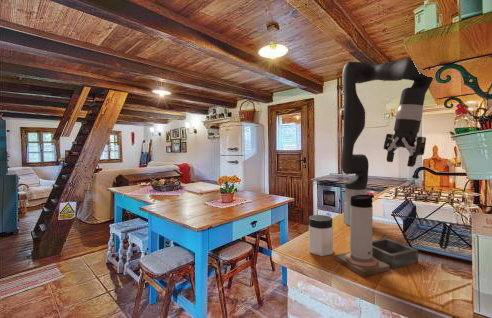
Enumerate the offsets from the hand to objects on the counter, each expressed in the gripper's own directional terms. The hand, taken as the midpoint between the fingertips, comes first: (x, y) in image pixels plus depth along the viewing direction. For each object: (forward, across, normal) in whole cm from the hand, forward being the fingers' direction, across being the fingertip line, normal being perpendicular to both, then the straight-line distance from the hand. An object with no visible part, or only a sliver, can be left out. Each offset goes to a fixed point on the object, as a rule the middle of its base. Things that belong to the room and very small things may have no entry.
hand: (399, 164), depth 89 cm
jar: (+33, -2, -26) cm, 42 cm away
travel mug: (+29, +10, -20) cm, 37 cm away
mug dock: (+31, +10, -14) cm, 35 cm away
